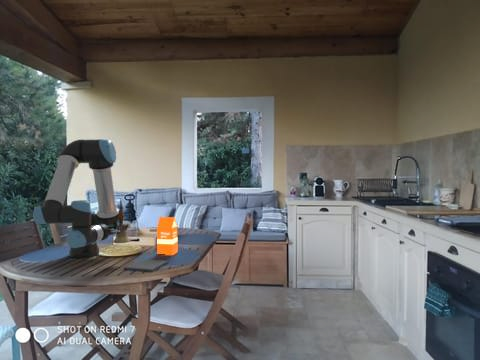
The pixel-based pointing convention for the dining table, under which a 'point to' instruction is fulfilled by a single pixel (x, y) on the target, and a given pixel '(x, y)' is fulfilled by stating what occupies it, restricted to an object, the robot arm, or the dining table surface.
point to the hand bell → (121, 236)
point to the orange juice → (167, 236)
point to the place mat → (146, 265)
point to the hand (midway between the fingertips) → (127, 224)
